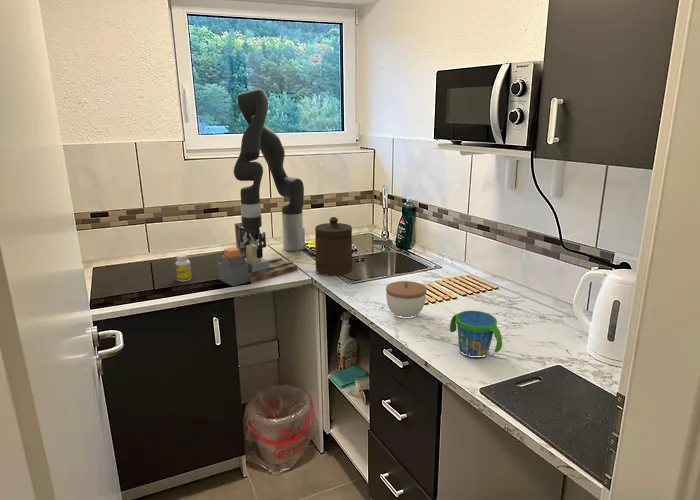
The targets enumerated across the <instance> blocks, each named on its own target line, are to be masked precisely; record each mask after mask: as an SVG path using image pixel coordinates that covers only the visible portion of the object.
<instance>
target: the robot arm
mask: <svg viewBox="0 0 700 500" xmlns="http://www.w3.org/2000/svg"><path fill="white" fill-rule="evenodd" d="M236 97H237V98H236V101H237V105H238V108H239V111H240V113H241V114H242V116H243V118H244V120H245V122H246V124H248V126H247V128H246V129H245V130H244V133H243V135H242V138H241V146H240V153H239V155H238V158H237V160H236V162H235V165H234V167H233V175H234V178H235V179H236V180H237V181H240V182H249V181H250V182H253V183H252V185H249V186H245V187H242V188H241V189H240V195H239V196H240V217H241V218H240V219H241V223H242V227H241V228H240V241H241V242H243V244H244V250H245V254H246V245H250V244H249V243H250V241H253V244H255V246H256V248H257V249H256V250H257V258H263V255H264V254H263V249H264V248H266V247H267V240H266V232H265V231H262V232H261V230H260V228H261V227H262V226H263V224H262V223H263V222H262V208H261V201H260V200H261V199H260V188H261V182H262V178H263V173H264V167H263V165H262V163H261V162H260V161H259V162H258V161H257V160H258V159H259V157H260V153H261V154H262V156H263V158H264V160H265V162H266V165H267V167H268V169H269V170H270V171H269V172H270V174H271V176H272V180H273V182H274V185H275V187H276V188H275V189H276V191H277V193H278V194H279V195H280V196H281V197H283V198H288V199H289V203H288V204H286V205H283V206H282V207H281V219H282V220H281V221H282V241H283V250H284V251H287V252H298V251H302V250H303V249H304V248H303V247H305V248H306V238H305V237H306V236H305V234H306V232H305V227H304V226H303V225H304V223H303V208H304V197H305V195H304V194H305V187H304V182H303V180H302V179H300V178H298V177H289V176H288V175H287V174H286V171H285V169H284V161H285V148H284V146H283V144H282V141H281V140H280V137H279V135H278V134H276V133H275V132H274V131H273V130H271V129H270V128H269V127H267V125H265V123H266V119H267V115H268V110H269V99H268V96H267V93H266V92H265V90H263V89H260V88H259V89H258V88H257V89H253V90H249V91H248V90H247V91H243V92H240V93H238V95H237V96H236ZM243 236H244V238H243ZM258 245H259V246H258Z"/></svg>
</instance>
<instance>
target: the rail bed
mask: <svg viewBox="0 0 700 500" xmlns="http://www.w3.org/2000/svg"><path fill="white" fill-rule="evenodd" d="M268 260H269V265H270V268H267V269H263V270H260V271H256V272H250V271H249V282H248V283H250V284H253V283H259V282H260V281H264V280H268V279H271V278H274V277H277V276H280V275H286V274H288V273H291V272H294V271H297V270H299V269H298V268H299V267H298V264H296V263H294V262H293V261H292V260H290V261H288V260H284V259H283V257H275V258H271V259H268Z"/></svg>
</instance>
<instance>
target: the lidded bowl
mask: <svg viewBox="0 0 700 500" xmlns="http://www.w3.org/2000/svg"><path fill="white" fill-rule="evenodd" d="M385 287H386V288H385V292H386V297H385V298H386V302H387V306H388V309H389V310H390V311H391V312H392V313H393V315H394V314H395V315H397V316H402V317H411V316H415V315H416V316H417V315H419V313H421V311H423V308H424V306H425V303H426V295H427V294H426V293H427V287H426V285H424V284H421V282H417V281H411V280H410V281H409V280H398V281H393V282H390V283H388V284H387V285H386V286H385ZM395 315H394V316H395Z"/></svg>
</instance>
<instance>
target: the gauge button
mask: <svg viewBox="0 0 700 500" xmlns="http://www.w3.org/2000/svg"><path fill="white" fill-rule="evenodd" d="M223 251H224V252H223V253H224V254H223V255H225V257H227V258H234V257H238V256H240V253H239V249H237V247H230V248H225V249H224V250H223Z"/></svg>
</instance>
